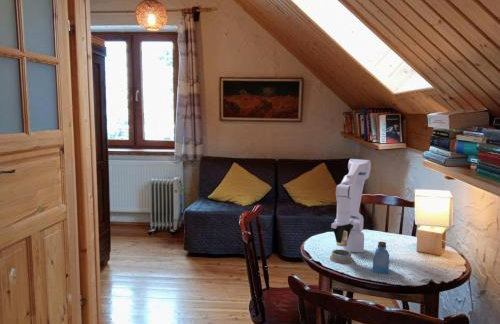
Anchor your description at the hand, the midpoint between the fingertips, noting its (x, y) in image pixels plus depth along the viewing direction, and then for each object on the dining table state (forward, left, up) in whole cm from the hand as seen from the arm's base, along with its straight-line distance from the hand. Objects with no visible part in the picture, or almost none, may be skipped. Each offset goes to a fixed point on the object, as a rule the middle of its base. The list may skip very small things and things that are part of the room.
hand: (341, 241), depth 181 cm
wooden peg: (0, 0, -2) cm, 2 cm away
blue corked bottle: (-14, +12, -9) cm, 20 cm away
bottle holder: (0, 0, -8) cm, 8 cm away
